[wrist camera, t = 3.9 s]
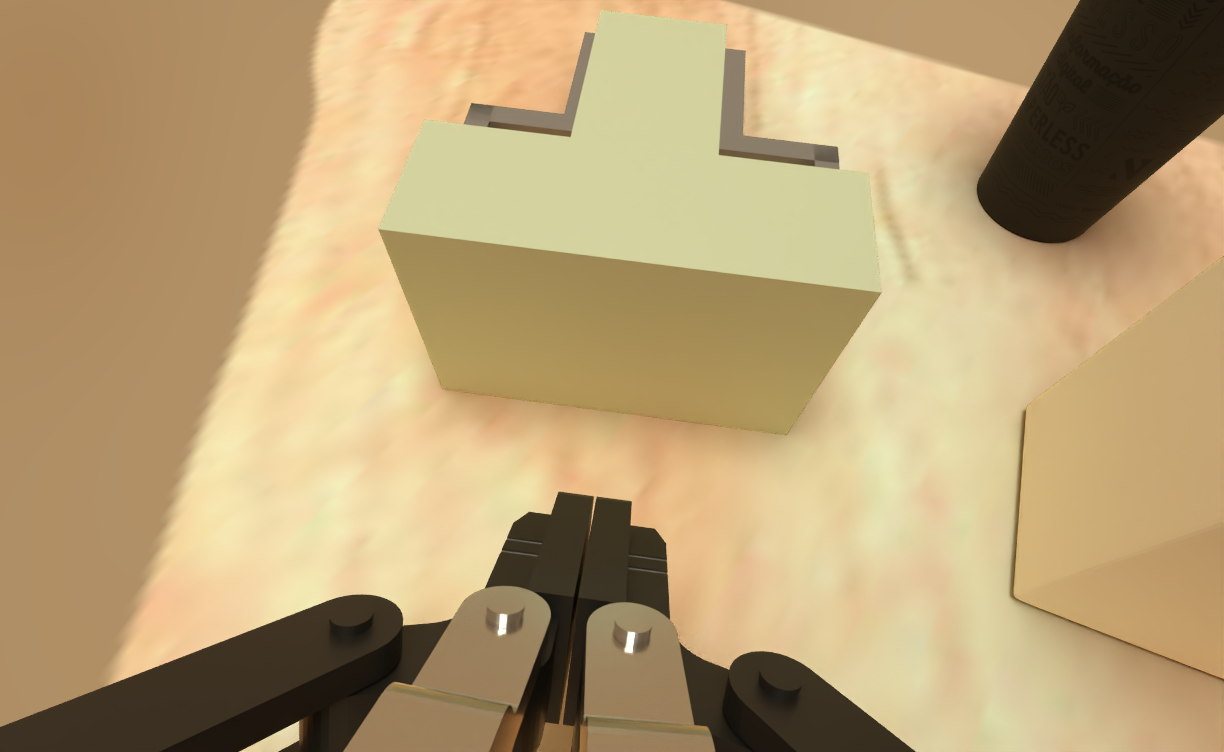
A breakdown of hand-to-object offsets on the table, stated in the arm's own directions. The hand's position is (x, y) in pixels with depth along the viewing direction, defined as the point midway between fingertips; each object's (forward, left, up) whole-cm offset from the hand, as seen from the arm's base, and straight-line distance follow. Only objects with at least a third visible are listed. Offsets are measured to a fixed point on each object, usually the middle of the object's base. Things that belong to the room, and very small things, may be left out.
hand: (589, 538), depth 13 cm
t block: (0, -11, -7) cm, 13 cm away
